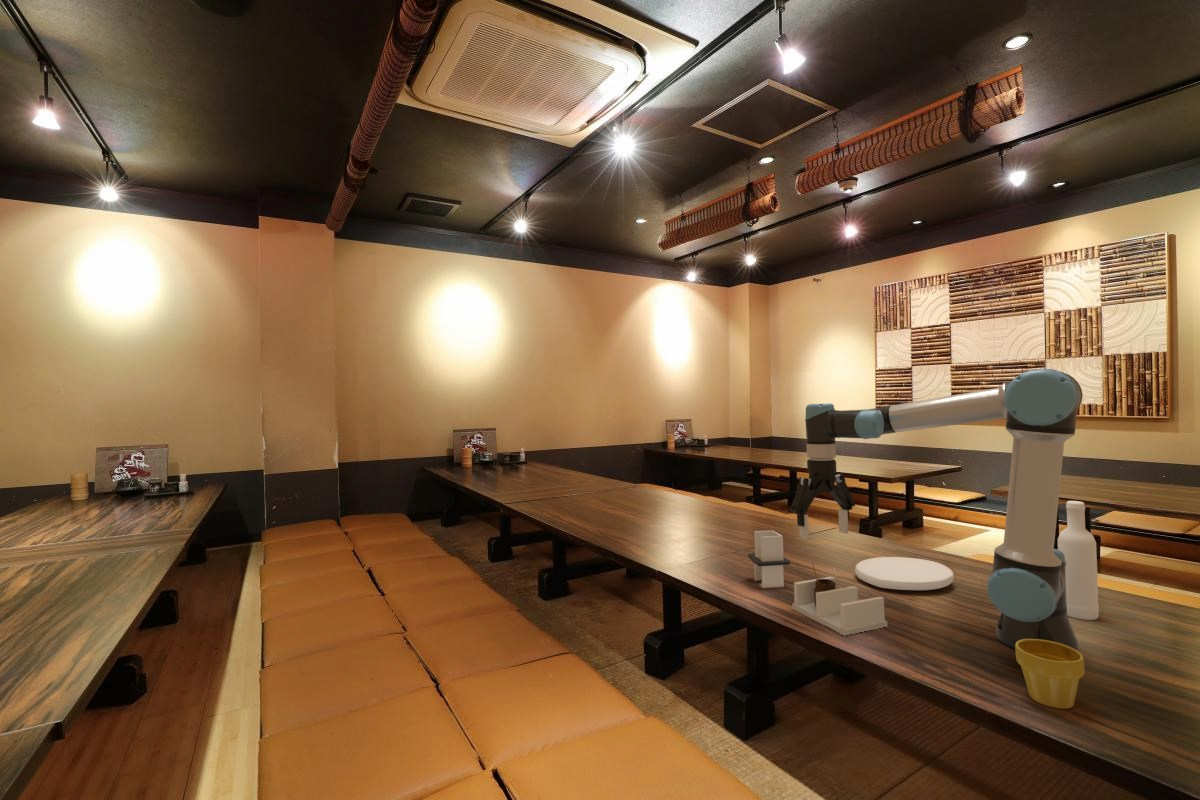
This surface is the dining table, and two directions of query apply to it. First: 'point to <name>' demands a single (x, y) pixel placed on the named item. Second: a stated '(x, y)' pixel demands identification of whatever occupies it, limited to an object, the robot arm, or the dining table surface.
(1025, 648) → the plant pot
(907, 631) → the dining table surface
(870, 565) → the plate
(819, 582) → the utensil holder
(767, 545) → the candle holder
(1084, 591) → the bottle
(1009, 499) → the robot arm
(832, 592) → the slot rack
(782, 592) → the dining table surface
